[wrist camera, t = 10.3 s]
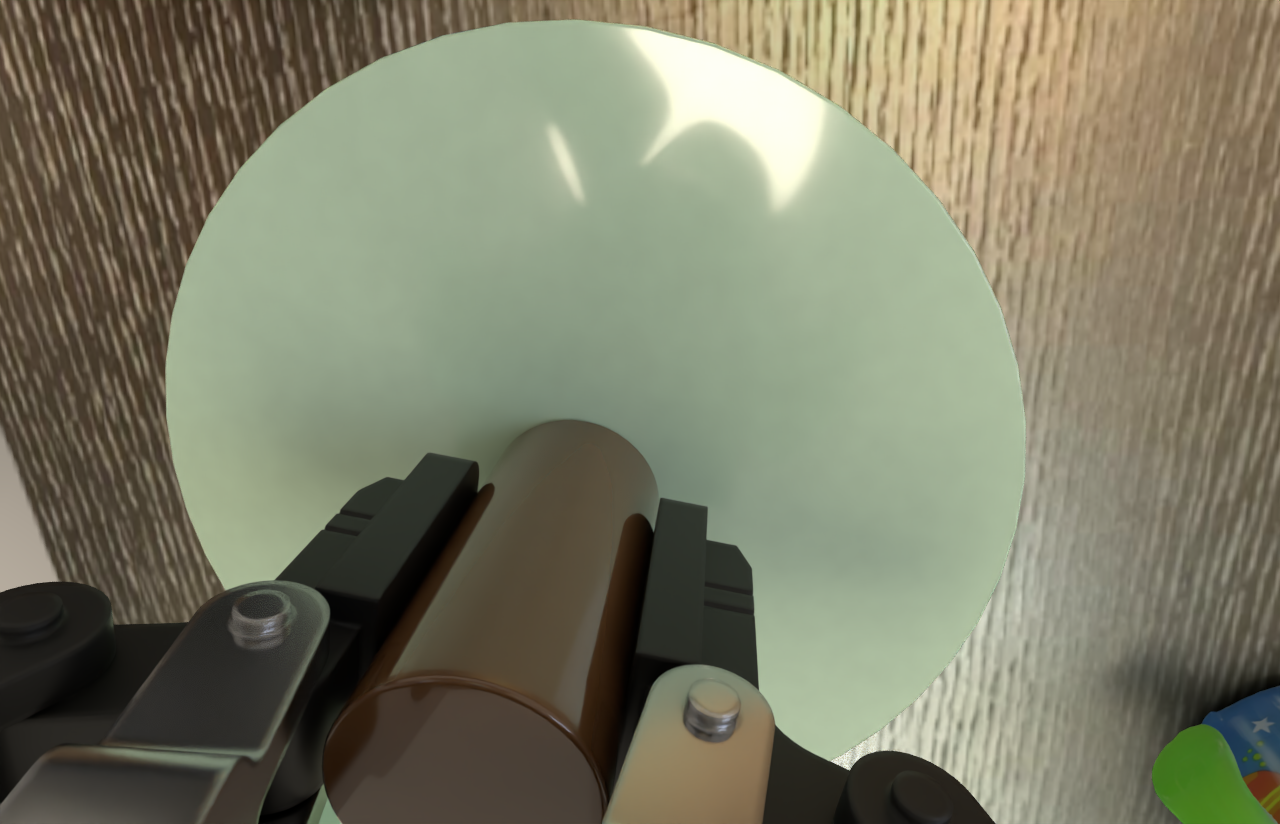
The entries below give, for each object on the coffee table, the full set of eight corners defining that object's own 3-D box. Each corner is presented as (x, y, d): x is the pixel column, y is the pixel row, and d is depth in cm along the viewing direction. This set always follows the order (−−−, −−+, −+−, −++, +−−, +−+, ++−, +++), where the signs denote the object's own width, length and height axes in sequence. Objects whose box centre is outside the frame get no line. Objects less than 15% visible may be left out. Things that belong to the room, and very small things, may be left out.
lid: (226, 688, 17) (-96, 1070, 10) (182, -51, 11) (-572, -257, 5) (868, 822, 16) (965, 1311, 10) (1144, 118, 11) (1788, 149, 4)
